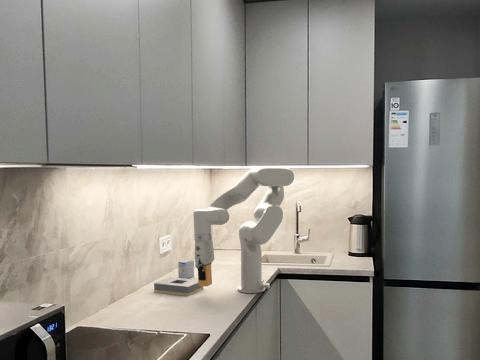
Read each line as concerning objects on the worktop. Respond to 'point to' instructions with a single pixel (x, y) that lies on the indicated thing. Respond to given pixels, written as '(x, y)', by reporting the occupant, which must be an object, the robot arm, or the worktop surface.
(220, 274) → the worktop surface
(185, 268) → the medicine box
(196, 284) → the socket block
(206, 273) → the plug
